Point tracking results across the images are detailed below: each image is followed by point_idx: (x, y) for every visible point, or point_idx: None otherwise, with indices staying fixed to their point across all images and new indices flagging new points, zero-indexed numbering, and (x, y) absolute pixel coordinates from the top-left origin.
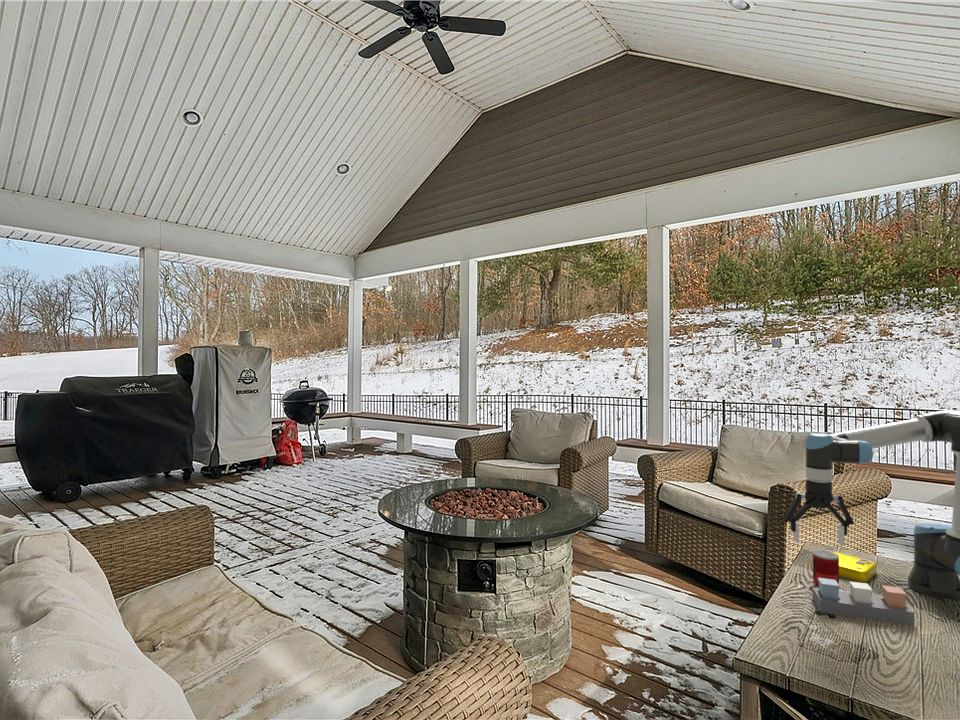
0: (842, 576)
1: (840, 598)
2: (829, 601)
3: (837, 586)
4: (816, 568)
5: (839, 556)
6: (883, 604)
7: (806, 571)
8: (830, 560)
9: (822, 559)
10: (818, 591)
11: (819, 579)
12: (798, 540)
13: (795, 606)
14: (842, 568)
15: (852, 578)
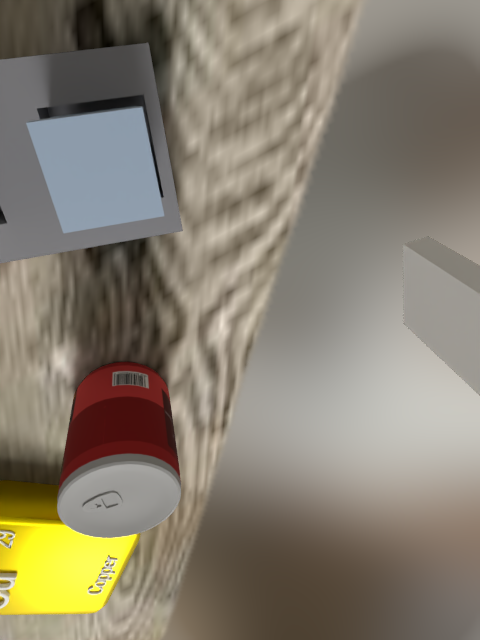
0: None
1: None
2: (97, 49)
3: (41, 120)
4: (161, 417)
5: (78, 590)
6: None
7: (187, 464)
8: (98, 456)
9: (137, 450)
10: None
11: (155, 188)
12: (418, 253)
13: (257, 74)
14: None
15: (31, 486)
